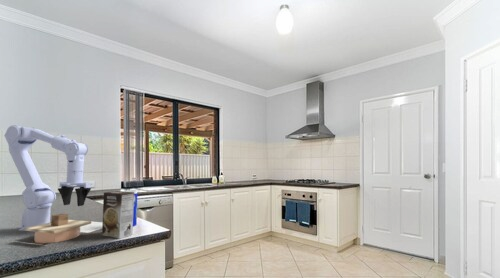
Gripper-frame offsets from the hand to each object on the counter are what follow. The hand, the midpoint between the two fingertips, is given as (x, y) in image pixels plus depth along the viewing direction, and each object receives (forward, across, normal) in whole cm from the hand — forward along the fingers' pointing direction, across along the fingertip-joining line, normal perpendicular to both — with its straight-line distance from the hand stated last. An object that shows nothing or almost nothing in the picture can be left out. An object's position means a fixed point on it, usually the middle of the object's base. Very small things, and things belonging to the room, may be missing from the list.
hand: (73, 205), depth 107 cm
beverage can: (+10, +18, +11) cm, 24 cm away
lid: (+6, +6, -10) cm, 13 cm away
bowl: (+10, +6, -10) cm, 15 cm away
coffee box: (+10, +24, -1) cm, 26 cm away
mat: (+10, +4, +5) cm, 12 cm away
